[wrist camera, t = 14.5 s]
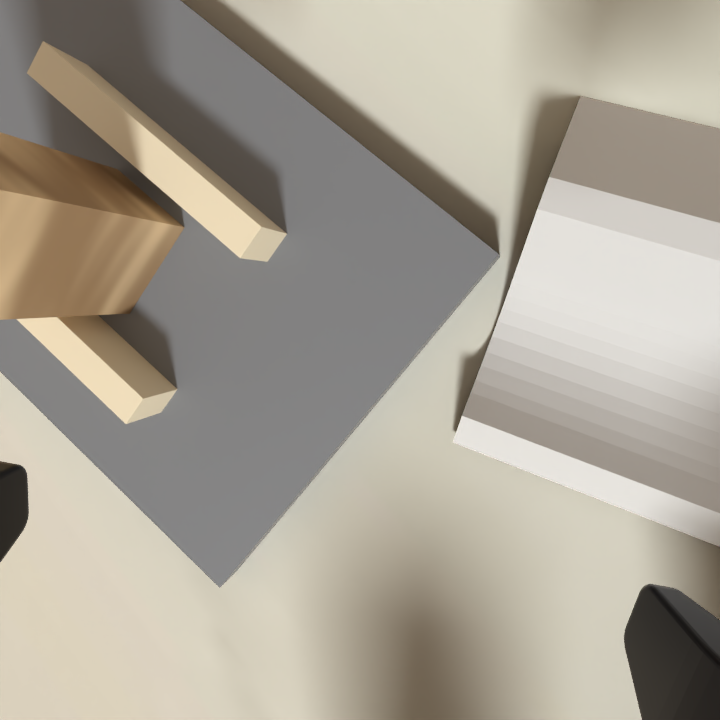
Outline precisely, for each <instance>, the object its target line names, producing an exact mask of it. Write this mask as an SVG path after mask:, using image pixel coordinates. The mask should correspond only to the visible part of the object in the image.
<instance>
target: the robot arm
mask: <svg viewBox="0 0 720 720" xmlns="http://www.w3.org/2000/svg"><path fill="white" fill-rule="evenodd" d="M28 513H29V509H28V483H27V473H26V470H25V469H24V468H23V467H22V466H21V465H17V464H12V463H7V462H1V461H0V562H1V561H2V559H3V558H4V557H5V555H6V554H7V552H8V551H9V550H10V548H11V547H12V546H13V544H14V543H15V541H16V540H17V539H18V537H19V536H20V534H21V533H22V531H23V530H24V528H25V526H26V523H27V520H28ZM624 643H625V650H626V654H627V658H628V662H629V667H630V671H631V675H632V679H633V683H634V688H635V692H636V696H637V700H638V704H639V709H640V713H641V717H642V720H720V620H719V619H717V618H716V617H714V616H713V615H712V614H710V613H709V612H708V611H706V610H705V609H704V608H702V607H701V606H700V605H698V604H697V603H696V602H694V601H693V600H692V599H690V598H689V597H687V596H686V595H685V594H683V593H682V592H681V591H679V590H677V589H674V588H670V587H665V586H659V585H654V584H648V585H645V586H644V587H643V588H642V589H641V591H640V593H639V595H638V598H637V600H636V603H635V605H634V608H633V611H632V613H631V616H630V618H629V621H628V623H627V626H626V629H625V634H624Z"/></svg>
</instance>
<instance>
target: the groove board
mask: <svg viewBox="0 0 720 720" xmlns="http://www.w3.org/2000/svg"><path fill="white" fill-rule="evenodd" d="M0 132H1V133H4V134H7V135H11V136H14V137H17V138H20V139H23V140H26V141H30V142H33V143H36V144H39V145H42V146H45V147H49V148H52V149H55V150H58V151H61V152H64V153H68V154H71V155H74V156H77V157H80V158H84V159H87V160H90V161H93V162H96V163H99V164H103V165H106V166H109V167H112V168H115V169H118V170H119V171H120V172H121V173H122V174H124V175H125V176H126V177H127V178H128V179H129V180H130V181H132V182H133V183H134V184H135V185H136V186H137V187H139V188H140V189H141V190H142V191H143V192H144V193H145V194H147V195H148V196H149V197H150V198H151V199H152V200H154V201H155V202H156V203H157V204H158V205H159V206H160V207H162V208H163V209H164V210H165V211H166V212H167V213H169V214H170V215H171V216H172V217H173V218H174V219H175V220H177V221H178V222H179V223H180V224H181V225H182V226H184V227H185V228H184V229H183V231H182V232H181V234H180V235H179V237H178V239H177V240H176V242H175V243H174V245H173V246H172V248H171V250H170V251H169V253H168V254H167V256H166V257H165V259H164V260H163V262H162V264H161V265H160V267H159V268H158V270H157V271H156V273H155V275H154V276H153V278H152V279H151V281H150V282H149V284H148V286H147V287H146V289H145V290H144V292H143V293H142V295H141V297H140V298H139V300H138V301H137V303H136V304H135V306H134V307H133V309H132V311H131V312H130V314H110V315H90V316H69V317H48V318H28V319H7V320H0V372H1V373H2V374H3V375H4V376H5V377H6V378H7V379H8V380H9V381H10V382H11V383H12V384H13V385H14V386H15V387H16V388H17V389H18V390H19V391H21V392H22V393H23V394H24V395H25V396H26V397H27V398H28V399H29V400H30V401H31V402H32V403H33V404H34V405H35V406H36V407H37V408H38V409H39V410H40V411H41V412H42V413H43V414H44V415H45V416H46V417H47V418H48V419H49V420H50V421H51V422H52V423H53V424H54V425H55V426H56V427H57V428H58V429H59V430H60V431H61V432H62V433H63V434H64V435H65V436H66V437H67V438H68V439H69V440H70V441H71V442H72V443H73V444H74V445H75V446H76V447H77V448H78V449H79V450H80V451H81V452H82V453H83V454H84V455H86V456H87V457H88V458H89V459H90V460H91V461H92V462H93V463H94V464H95V465H96V466H97V467H98V468H99V469H100V470H101V471H102V472H103V473H104V474H105V475H106V476H107V477H108V478H109V479H110V480H111V481H112V482H113V483H114V484H115V485H116V486H117V487H118V488H119V489H120V490H121V491H122V492H123V493H124V494H125V495H126V496H127V497H128V498H129V499H130V500H131V501H132V502H133V503H134V504H135V505H136V506H137V507H138V508H139V509H140V510H141V511H142V512H143V513H144V514H145V515H146V516H147V517H148V518H149V519H151V520H152V521H153V522H154V523H155V524H156V525H157V526H158V527H159V528H160V529H161V530H162V531H163V532H164V533H165V534H166V535H167V536H168V537H169V538H170V539H171V540H172V541H173V542H174V543H175V544H176V545H177V546H178V547H179V548H180V549H181V550H182V551H183V552H184V553H185V554H186V555H187V556H188V557H189V558H190V559H191V560H192V561H193V562H194V563H195V564H196V565H197V566H198V567H199V568H200V569H201V570H202V571H203V572H204V573H205V574H206V575H207V576H208V577H209V578H210V579H211V580H212V581H213V582H214V583H215V584H217V585H218V586H219V587H221V586H222V585H223V584H224V583H225V582H226V581H227V580H228V579H229V578H230V577H231V576H232V575H233V574H234V573H235V572H236V571H237V570H238V568H239V567H240V566H241V565H242V564H243V563H244V561H245V560H246V559H247V558H248V557H249V555H250V554H251V553H252V552H253V551H254V549H255V548H256V547H257V546H258V545H259V543H260V542H261V541H262V540H263V539H264V537H265V536H266V535H267V534H268V533H269V531H270V530H271V529H272V528H273V527H274V526H275V524H276V523H277V522H278V521H279V520H280V518H281V517H282V516H283V515H284V514H285V512H286V511H287V510H288V509H289V508H290V506H291V505H292V504H293V503H294V502H295V500H296V499H297V498H298V497H299V496H300V495H301V493H302V492H303V491H304V490H305V489H306V487H307V486H308V485H309V484H310V483H311V481H312V480H313V479H314V478H315V477H316V475H317V474H318V473H319V472H320V471H321V469H322V468H323V467H324V466H325V465H326V463H327V462H328V461H329V460H330V459H331V458H332V456H333V455H334V454H335V453H336V452H337V450H338V449H339V448H340V447H341V446H342V444H343V443H344V442H345V441H346V440H347V438H348V437H349V436H350V435H351V434H352V432H353V431H354V430H355V429H356V428H357V427H358V425H359V424H360V423H361V422H362V421H363V419H364V418H365V417H366V416H367V415H368V413H369V412H370V411H371V410H372V409H373V407H374V406H375V405H376V404H377V403H378V401H379V400H380V399H381V398H382V397H383V395H384V394H385V393H386V392H387V391H388V390H389V388H390V387H391V386H392V385H393V384H394V382H395V381H396V380H397V379H398V378H399V376H400V375H401V374H402V373H403V372H404V370H405V369H406V368H407V367H408V366H409V364H410V363H411V362H412V361H413V360H414V359H415V357H416V356H417V355H418V354H419V353H420V351H421V350H422V349H423V348H424V347H425V345H426V344H427V343H428V342H429V341H430V339H431V338H432V337H433V336H434V335H435V333H436V332H437V331H438V330H439V329H440V328H441V326H442V325H443V324H444V323H445V322H446V320H447V319H448V318H449V317H450V316H451V314H452V313H453V312H454V311H455V310H456V308H457V307H458V306H459V305H460V304H461V302H462V301H463V300H464V299H465V298H466V296H467V295H468V294H469V293H470V292H471V291H472V289H473V288H474V287H475V286H476V285H477V283H478V282H479V281H480V280H481V279H482V277H483V276H484V275H485V274H486V273H487V271H488V270H489V269H490V268H491V267H492V265H493V264H494V263H495V262H496V261H497V260H498V258H499V257H500V256H499V254H498V253H497V252H496V251H494V250H493V249H492V248H491V247H489V246H488V245H487V244H486V243H484V242H483V241H482V240H480V239H479V238H478V237H477V236H475V235H474V234H473V233H472V232H470V231H469V230H468V229H467V228H465V227H464V226H463V225H462V224H460V223H459V222H458V221H457V220H455V219H454V218H453V217H452V216H450V215H449V214H448V213H447V212H445V211H444V210H443V209H442V208H440V207H439V206H438V205H437V204H435V203H434V202H433V201H432V200H430V199H429V198H428V197H427V196H425V195H424V194H423V193H422V192H420V191H419V190H418V189H416V188H415V187H414V186H413V185H411V184H410V183H409V182H408V181H406V180H405V179H404V178H403V177H401V176H400V175H399V174H398V173H396V172H395V171H394V170H393V169H391V168H390V167H389V166H388V165H386V164H385V163H384V162H383V161H381V160H380V159H379V158H378V157H376V156H375V155H374V154H373V153H371V152H370V151H369V150H368V149H366V148H365V147H364V146H363V145H361V144H360V143H359V142H358V141H356V140H355V139H354V138H352V137H351V136H350V135H349V134H347V133H346V132H345V131H344V130H342V129H341V128H340V127H339V126H337V125H336V124H335V123H334V122H332V121H331V120H330V119H329V118H327V117H326V116H325V115H324V114H322V113H321V112H320V111H319V110H317V109H316V108H315V107H314V106H312V105H311V104H310V103H309V102H307V101H306V100H305V99H304V98H302V97H301V96H300V95H299V94H297V93H296V92H295V91H294V90H292V89H291V88H290V87H288V86H287V85H286V84H285V83H283V82H282V81H281V80H280V79H278V78H277V77H276V76H275V75H273V74H272V73H271V72H270V71H268V70H267V69H266V68H265V67H263V66H262V65H261V64H260V63H258V62H257V61H256V60H255V59H253V58H252V57H251V56H250V55H248V54H247V53H246V52H245V51H243V50H242V49H241V48H240V47H238V46H237V45H236V44H235V43H233V42H232V41H231V40H230V39H228V38H227V37H226V36H224V35H223V34H222V33H221V32H219V31H218V30H217V29H216V28H214V27H213V26H212V25H211V24H209V23H208V22H207V21H206V20H204V19H203V18H202V17H201V16H199V15H198V14H197V13H196V12H194V11H193V10H192V9H191V8H189V7H188V6H187V5H186V4H184V3H183V2H182V1H181V0H0Z"/></svg>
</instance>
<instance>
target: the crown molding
mask: <svg viewBox="0 0 720 720" xmlns="http://www.w3.org/2000/svg"><path fill="white" fill-rule="evenodd" d="M453 443H455V444H458V445H460V446H463V447H466V448H468V449H471V450H473V451H476V452H478V453H481V454H483V455H486V456H489V457H491V458H494V459H496V460H499V461H501V462H504V463H506V464H509V465H512V466H514V467H517V468H519V469H522V470H524V471H527V472H529V473H532V474H535V475H537V476H540V477H542V478H545V479H547V480H550V481H552V482H555V483H558V484H560V485H563V486H565V487H568V488H570V489H573V490H575V491H578V492H580V493H583V494H586V495H588V496H591V497H593V498H596V499H598V500H601V501H603V502H606V503H609V504H611V505H614V506H616V507H619V508H621V509H624V510H626V511H629V512H632V513H634V514H637V515H639V516H642V517H644V518H647V519H649V520H652V521H655V522H657V523H660V524H662V525H665V526H667V527H670V528H672V529H675V530H678V531H680V532H683V533H685V534H688V535H690V536H693V537H695V538H698V539H700V540H703V541H706V542H708V543H711V544H713V545H716V546H718V547H720V129H719V128H715V127H710V126H706V125H702V124H698V123H694V122H689V121H685V120H681V119H677V118H672V117H668V116H664V115H660V114H655V113H651V112H647V111H643V110H638V109H634V108H630V107H626V106H621V105H617V104H613V103H609V102H604V101H600V100H596V99H592V98H588V97H583V96H580V99H579V101H578V104H577V106H576V109H575V112H574V114H573V117H572V119H571V122H570V124H569V127H568V130H567V132H566V135H565V137H564V140H563V142H562V145H561V147H560V150H559V153H558V155H557V158H556V160H555V163H554V165H553V168H552V171H551V173H550V176H549V178H548V181H547V184H546V187H545V189H544V192H543V195H542V197H541V200H540V203H539V206H538V208H537V211H536V214H535V217H534V220H533V223H532V225H531V228H530V231H529V234H528V237H527V240H526V242H525V245H524V248H523V251H522V254H521V257H520V260H519V262H518V265H517V268H516V271H515V274H514V277H513V279H512V282H511V285H510V288H509V291H508V293H507V296H506V299H505V302H504V305H503V307H502V310H501V313H500V316H499V318H498V321H497V324H496V326H495V329H494V332H493V335H492V337H491V340H490V343H489V345H488V348H487V351H486V353H485V356H484V359H483V361H482V364H481V367H480V369H479V372H478V375H477V377H476V380H475V383H474V385H473V388H472V390H471V393H470V396H469V398H468V401H467V404H466V406H465V409H464V411H463V414H462V417H461V420H460V423H459V425H458V428H457V431H456V434H455V437H454V440H453Z"/></svg>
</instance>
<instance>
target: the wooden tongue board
mask: <svg viewBox="0 0 720 720" xmlns="http://www.w3.org/2000/svg"><path fill="white" fill-rule="evenodd" d="M184 228H185V227H184V226H182V225H181V224H180V223H179V222H178V221H177V220H175V219H174V218H173V217H172V216H171V215H170V214H169V213H167V212H166V211H165V210H164V209H163V208H162V207H160V206H159V205H158V204H157V203H156V202H155V201H154V200H152V199H151V198H150V197H149V196H148V195H147V194H145V193H144V192H143V191H142V190H141V189H140V188H139V187H137V186H136V185H135V184H134V183H133V182H132V181H130V180H129V179H128V178H127V177H126V176H125V175H124V174H122V173H121V172H120V171H119V170H118V169H115V168H112V167H109V166H106V165H103V164H99V163H96V162H93V161H90V160H87V159H84V158H80V157H77V156H74V155H71V154H68V153H64V152H61V151H58V150H55V149H52V148H49V147H45V146H42V145H39V144H36V143H33V142H30V141H26V140H23V139H20V138H17V137H14V136H11V135H7V134H4V133H1V132H0V320H7V319H28V318H48V317H69V316H90V315H110V314H130V312H131V311H132V309H133V307H134V306H135V304H136V303H137V301H138V300H139V298H140V297H141V295H142V293H143V292H144V290H145V289H146V287H147V286H148V284H149V282H150V281H151V279H152V278H153V276H154V275H155V273H156V271H157V270H158V268H159V267H160V265H161V264H162V262H163V260H164V259H165V257H166V256H167V254H168V253H169V251H170V250H171V248H172V246H173V245H174V243H175V242H176V240H177V239H178V237H179V235H180V234H181V232H182V231H183V229H184Z"/></svg>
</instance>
